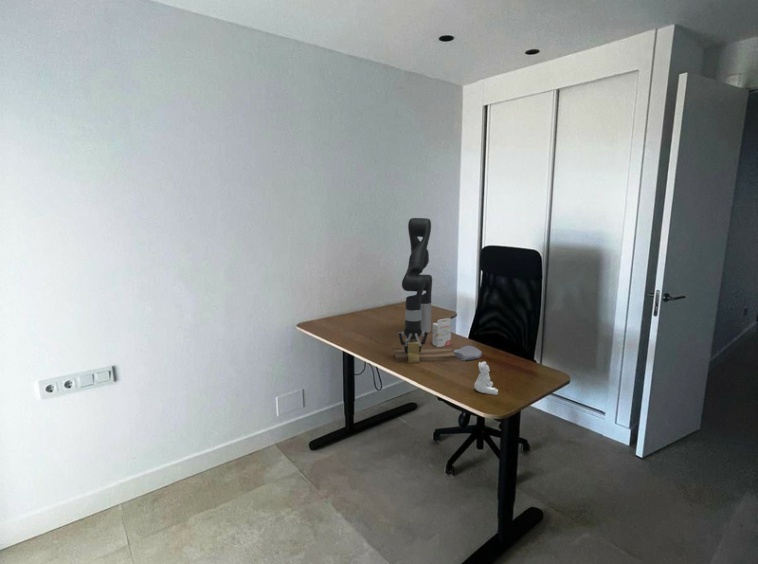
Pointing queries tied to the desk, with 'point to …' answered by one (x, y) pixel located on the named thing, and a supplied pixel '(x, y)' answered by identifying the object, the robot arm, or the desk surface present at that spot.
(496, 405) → the desk surface
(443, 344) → the ink cartridge box
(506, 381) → the desk surface
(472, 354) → the stone block
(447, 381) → the desk surface
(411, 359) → the wooden mallet
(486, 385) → the seated beast figurine
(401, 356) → the board
